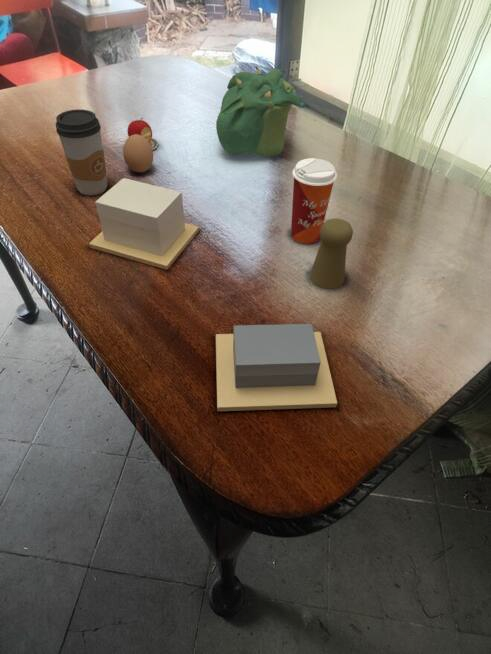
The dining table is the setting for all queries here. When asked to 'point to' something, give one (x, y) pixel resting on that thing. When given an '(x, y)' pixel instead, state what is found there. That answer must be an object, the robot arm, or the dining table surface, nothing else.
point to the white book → (140, 204)
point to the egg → (138, 153)
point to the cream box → (146, 241)
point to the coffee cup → (83, 150)
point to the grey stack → (272, 368)
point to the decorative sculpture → (255, 113)
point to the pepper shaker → (331, 254)
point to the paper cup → (311, 198)
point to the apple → (142, 131)
